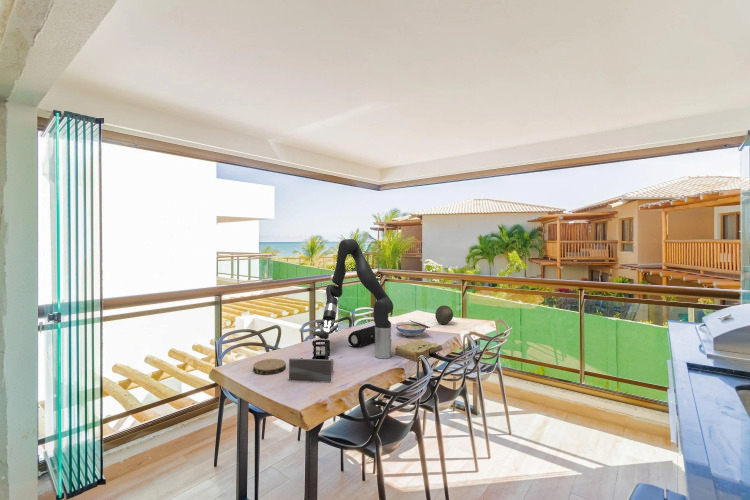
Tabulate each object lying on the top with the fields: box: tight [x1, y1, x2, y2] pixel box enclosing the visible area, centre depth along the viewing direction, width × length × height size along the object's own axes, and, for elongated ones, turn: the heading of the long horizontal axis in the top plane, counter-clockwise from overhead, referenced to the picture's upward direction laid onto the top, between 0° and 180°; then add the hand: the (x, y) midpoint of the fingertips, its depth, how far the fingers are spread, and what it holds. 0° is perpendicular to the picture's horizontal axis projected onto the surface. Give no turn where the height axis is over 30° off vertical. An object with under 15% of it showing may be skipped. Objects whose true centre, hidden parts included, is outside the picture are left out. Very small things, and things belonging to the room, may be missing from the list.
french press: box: [311, 320, 331, 360], centre depth 192 cm, size 12×9×23 cm
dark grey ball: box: [434, 305, 454, 325], centre depth 288 cm, size 14×14×15 cm
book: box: [394, 339, 444, 363], centre depth 212 cm, size 25×17×6 cm
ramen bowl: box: [394, 319, 431, 338], centre depth 253 cm, size 25×23×8 cm
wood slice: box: [252, 358, 287, 376], centre depth 183 cm, size 16×16×3 cm
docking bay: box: [288, 357, 334, 382], centre depth 176 cm, size 14×20×10 cm
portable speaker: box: [347, 324, 375, 348], centre depth 232 cm, size 26×10×10 cm, turn 142°
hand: (325, 338), depth 204 cm, fingers closed
